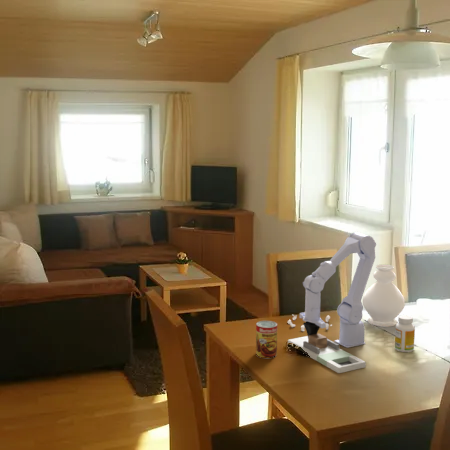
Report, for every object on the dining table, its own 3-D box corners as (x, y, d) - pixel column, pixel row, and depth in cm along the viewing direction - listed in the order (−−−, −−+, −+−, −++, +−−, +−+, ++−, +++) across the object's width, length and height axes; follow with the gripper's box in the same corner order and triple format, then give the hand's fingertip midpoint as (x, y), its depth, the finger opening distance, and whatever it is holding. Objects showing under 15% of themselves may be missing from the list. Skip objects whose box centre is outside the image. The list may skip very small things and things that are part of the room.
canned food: (261, 359, 234) (262, 328, 232) (252, 352, 241) (252, 322, 239) (280, 356, 237) (281, 325, 235) (270, 349, 244) (271, 319, 242)
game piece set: (325, 317, 284) (325, 309, 284) (339, 332, 265) (339, 323, 264) (282, 319, 282) (283, 310, 281) (293, 334, 262) (293, 325, 262)
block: (318, 343, 245) (319, 333, 244) (326, 347, 240) (327, 337, 240) (308, 345, 243) (308, 335, 242) (315, 349, 238) (316, 339, 238)
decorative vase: (408, 328, 268) (411, 271, 264) (366, 328, 268) (368, 271, 264) (397, 315, 285) (400, 261, 281) (358, 315, 286) (360, 261, 281)
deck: (312, 339, 255) (313, 330, 254) (365, 367, 227) (365, 356, 226) (287, 344, 249) (288, 334, 248) (338, 373, 221) (339, 362, 221)
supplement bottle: (415, 347, 246) (416, 315, 244) (412, 353, 240) (413, 321, 238) (396, 344, 249) (397, 313, 247) (393, 350, 243) (394, 318, 241)
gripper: (293, 303, 247) (292, 336, 249) (315, 313, 234) (314, 348, 237) (308, 300, 250) (307, 333, 253) (330, 310, 238) (329, 345, 240)
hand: (311, 340), depth 245 cm, fingers closed
